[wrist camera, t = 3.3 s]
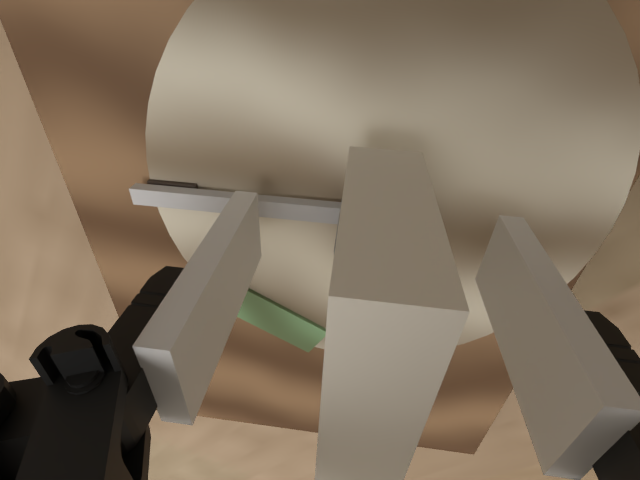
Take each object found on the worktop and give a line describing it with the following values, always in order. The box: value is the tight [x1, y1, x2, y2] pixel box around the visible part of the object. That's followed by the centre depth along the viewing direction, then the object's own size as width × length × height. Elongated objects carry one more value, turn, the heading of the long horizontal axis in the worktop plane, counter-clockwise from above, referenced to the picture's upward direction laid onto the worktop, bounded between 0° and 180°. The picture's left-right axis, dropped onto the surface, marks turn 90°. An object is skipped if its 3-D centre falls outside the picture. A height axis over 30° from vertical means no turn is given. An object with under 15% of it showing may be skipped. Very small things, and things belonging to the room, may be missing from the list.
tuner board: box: [0, 0, 640, 454], centre depth 17 cm, size 30×22×2 cm
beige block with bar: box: [129, 146, 470, 480], centre depth 11 cm, size 7×11×9 cm, turn 88°
